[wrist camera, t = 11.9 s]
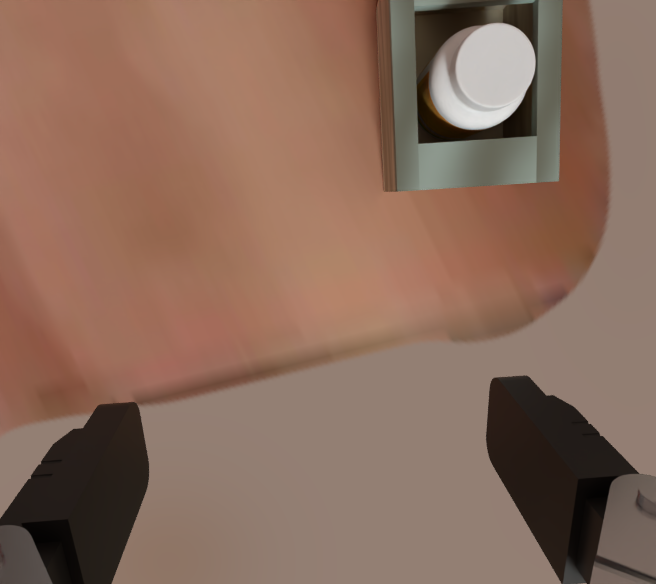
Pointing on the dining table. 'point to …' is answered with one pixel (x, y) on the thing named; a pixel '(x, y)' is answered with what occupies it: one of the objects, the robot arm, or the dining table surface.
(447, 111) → the supplement bottle
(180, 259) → the dining table surface
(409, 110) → the birch box
